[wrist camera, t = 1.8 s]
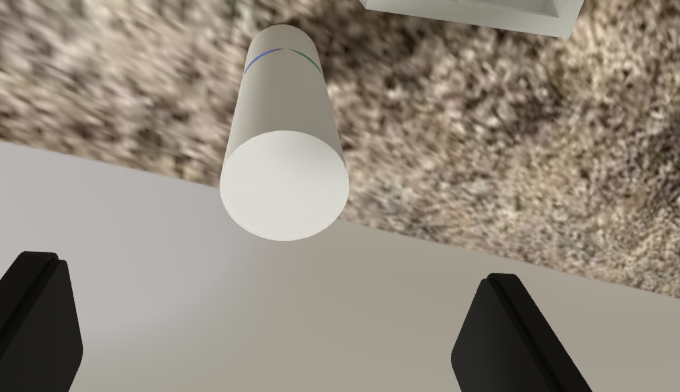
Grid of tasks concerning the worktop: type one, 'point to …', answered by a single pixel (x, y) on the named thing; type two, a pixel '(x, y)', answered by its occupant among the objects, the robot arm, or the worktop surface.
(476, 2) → the tray
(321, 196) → the tube
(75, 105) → the worktop surface
